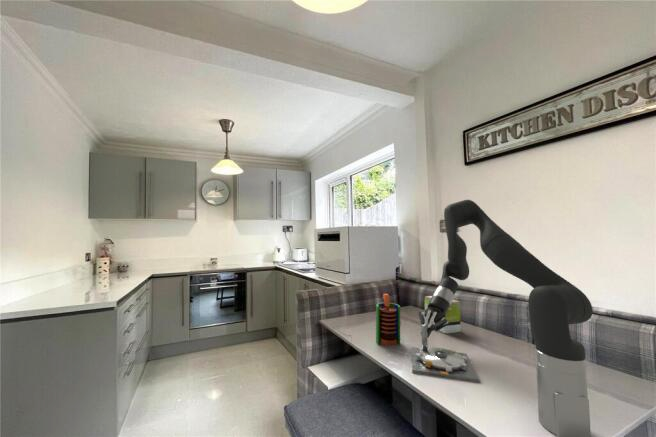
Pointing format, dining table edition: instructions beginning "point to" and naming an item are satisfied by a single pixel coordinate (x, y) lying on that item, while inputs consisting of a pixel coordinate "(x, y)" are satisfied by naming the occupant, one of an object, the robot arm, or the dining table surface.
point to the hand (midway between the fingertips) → (423, 337)
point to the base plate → (459, 374)
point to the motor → (387, 323)
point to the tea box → (449, 316)
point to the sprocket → (440, 356)
